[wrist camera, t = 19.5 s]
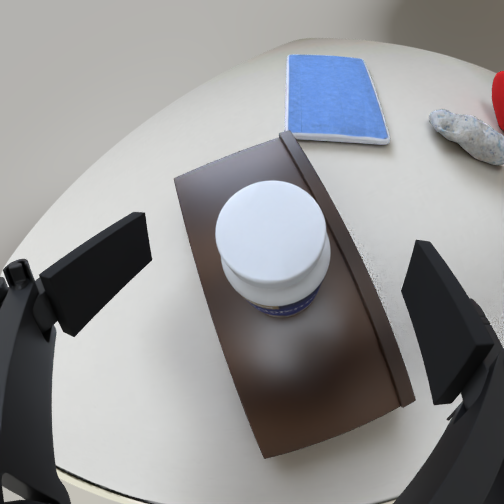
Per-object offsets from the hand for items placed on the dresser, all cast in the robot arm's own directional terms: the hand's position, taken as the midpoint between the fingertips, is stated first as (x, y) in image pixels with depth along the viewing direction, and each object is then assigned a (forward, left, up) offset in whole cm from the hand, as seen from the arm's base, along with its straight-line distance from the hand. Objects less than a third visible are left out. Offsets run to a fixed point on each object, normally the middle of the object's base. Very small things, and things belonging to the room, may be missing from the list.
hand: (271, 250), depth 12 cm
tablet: (+7, -27, -13) cm, 30 cm away
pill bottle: (0, 0, -9) cm, 9 cm away
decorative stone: (-13, -30, -13) cm, 35 cm away
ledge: (0, -1, -13) cm, 13 cm away
